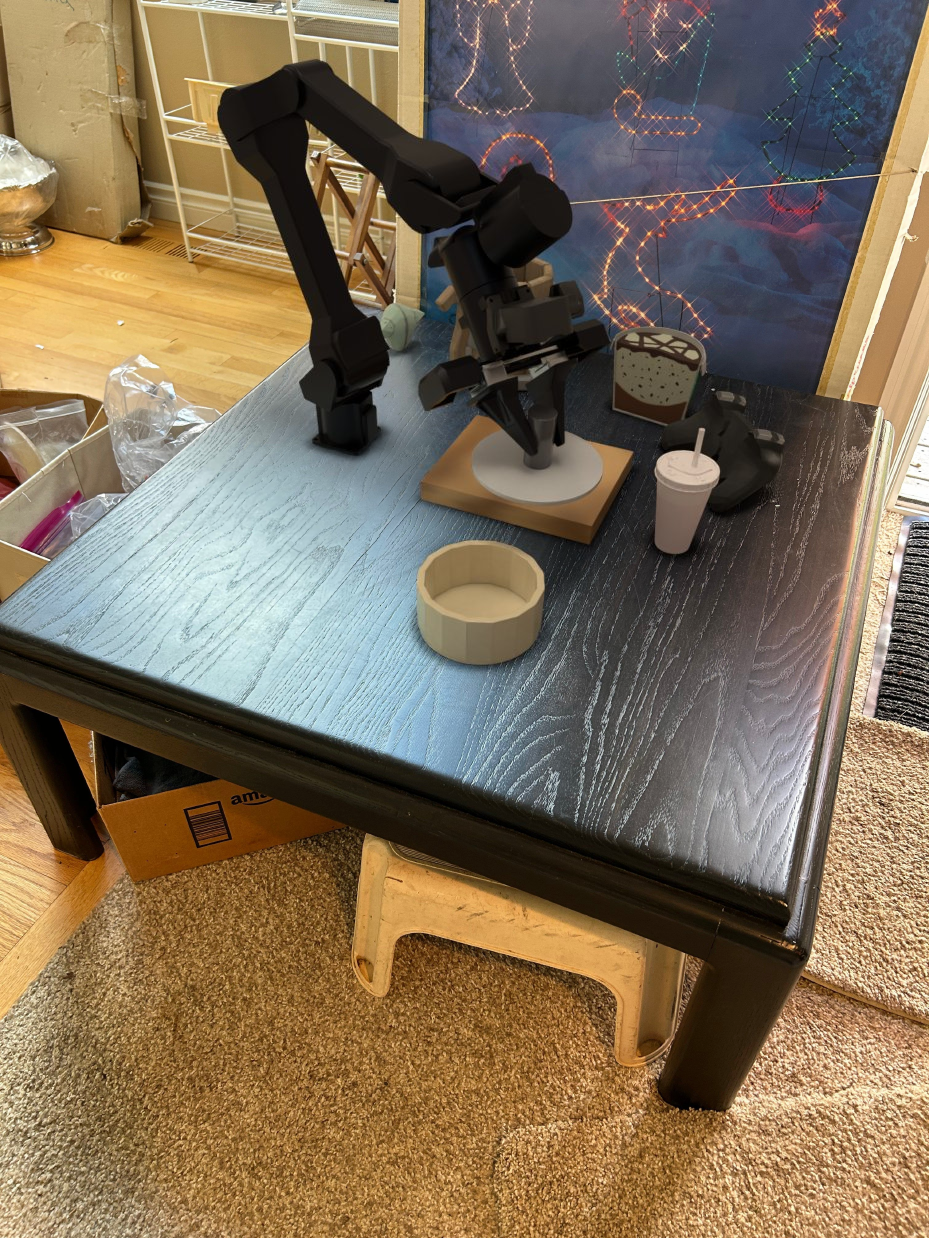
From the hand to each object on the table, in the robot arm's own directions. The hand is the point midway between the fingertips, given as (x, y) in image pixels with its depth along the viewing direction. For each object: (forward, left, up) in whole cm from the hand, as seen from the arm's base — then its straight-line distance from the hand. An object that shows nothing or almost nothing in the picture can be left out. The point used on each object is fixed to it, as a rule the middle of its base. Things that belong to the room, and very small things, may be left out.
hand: (547, 450), depth 85 cm
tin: (-2, -11, -14) cm, 18 cm away
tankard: (-20, +35, -14) cm, 43 cm away
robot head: (-35, +37, -14) cm, 53 cm away
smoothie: (+12, +9, -14) cm, 20 cm away
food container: (+3, +36, -14) cm, 39 cm away
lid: (-1, +1, -3) cm, 3 cm away
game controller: (+13, +24, -14) cm, 31 cm away
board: (-6, +13, -14) cm, 20 cm away
